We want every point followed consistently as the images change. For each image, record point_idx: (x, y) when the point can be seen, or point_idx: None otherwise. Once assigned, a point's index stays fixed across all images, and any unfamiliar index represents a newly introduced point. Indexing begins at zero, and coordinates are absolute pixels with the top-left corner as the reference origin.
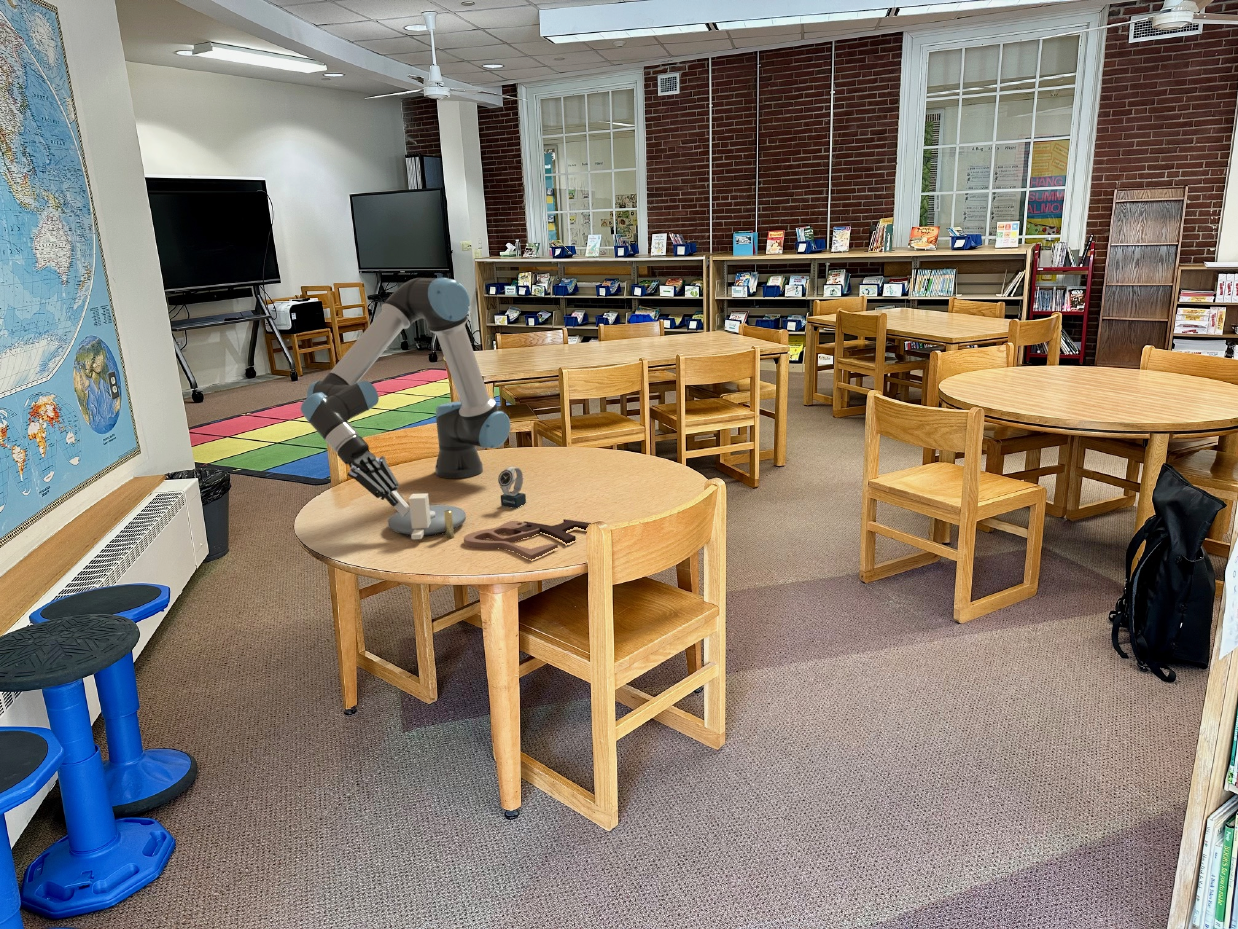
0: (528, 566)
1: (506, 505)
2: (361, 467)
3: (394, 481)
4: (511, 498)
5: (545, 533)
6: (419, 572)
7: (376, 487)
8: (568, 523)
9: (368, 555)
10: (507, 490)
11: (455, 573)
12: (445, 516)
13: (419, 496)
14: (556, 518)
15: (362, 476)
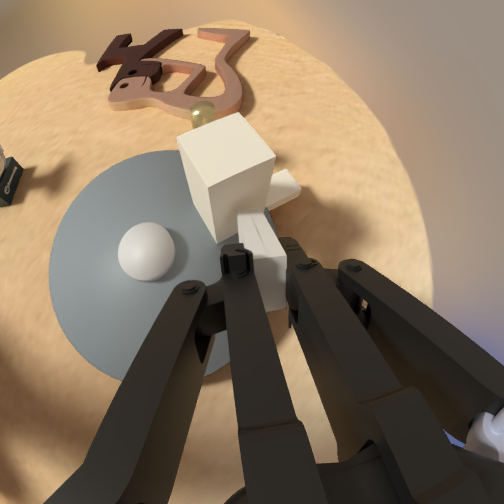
0: (265, 36)
1: (13, 190)
2: (473, 453)
3: (192, 304)
4: (8, 169)
5: (146, 58)
6: (375, 118)
7: (390, 281)
8: (115, 52)
9: (395, 253)
10: (3, 156)
11: (341, 80)
12: (214, 117)
13: (228, 138)
14: (71, 92)
15: (481, 352)
